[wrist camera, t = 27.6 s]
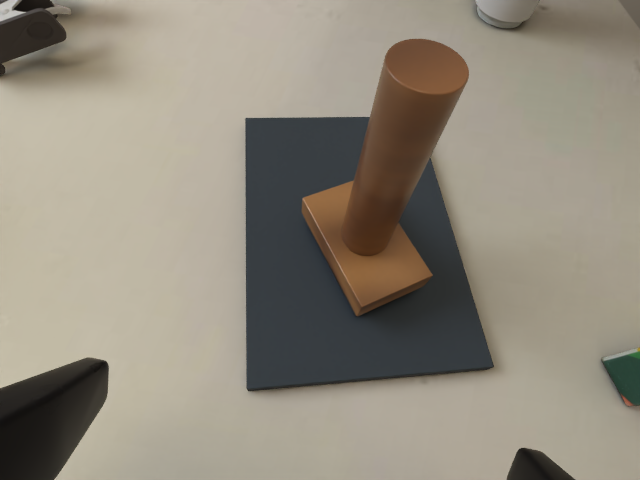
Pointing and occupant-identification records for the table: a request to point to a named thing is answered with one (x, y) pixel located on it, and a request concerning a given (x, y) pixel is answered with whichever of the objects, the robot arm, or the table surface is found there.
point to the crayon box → (625, 374)
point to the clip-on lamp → (28, 27)
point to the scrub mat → (320, 283)
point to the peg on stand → (388, 177)
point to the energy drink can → (506, 11)
